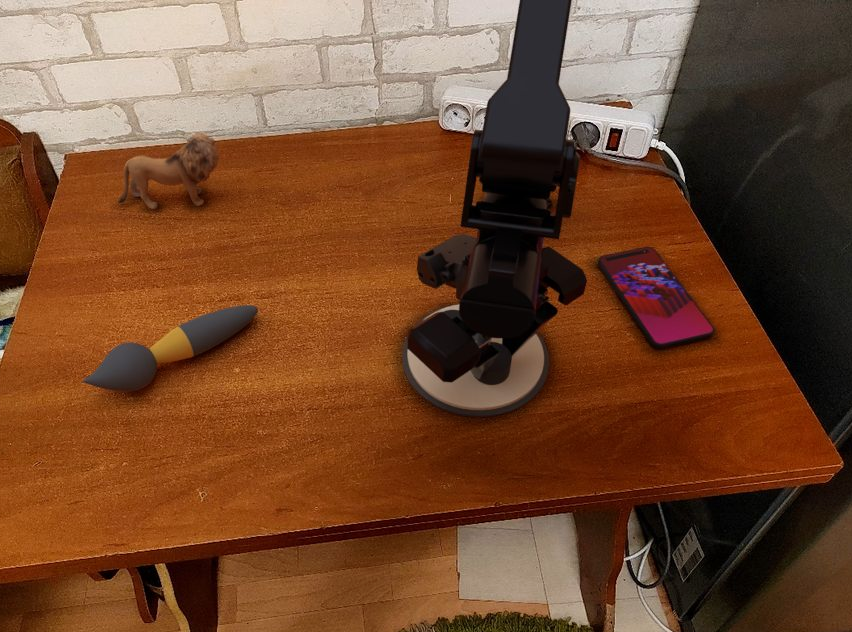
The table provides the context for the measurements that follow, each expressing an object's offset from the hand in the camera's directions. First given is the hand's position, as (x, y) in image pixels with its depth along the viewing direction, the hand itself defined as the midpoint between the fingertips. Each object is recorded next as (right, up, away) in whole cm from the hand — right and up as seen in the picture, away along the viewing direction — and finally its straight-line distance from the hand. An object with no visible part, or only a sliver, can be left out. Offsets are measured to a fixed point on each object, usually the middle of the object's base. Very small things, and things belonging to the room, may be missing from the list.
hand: (491, 365), depth 72 cm
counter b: (0, -1, +1) cm, 1 cm away
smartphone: (+20, +8, +9) cm, 23 cm away
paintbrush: (-34, +1, +4) cm, 34 cm away
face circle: (-1, +1, +3) cm, 4 cm away
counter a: (-4, +3, +4) cm, 6 cm away
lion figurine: (-40, +22, +22) cm, 51 cm away
